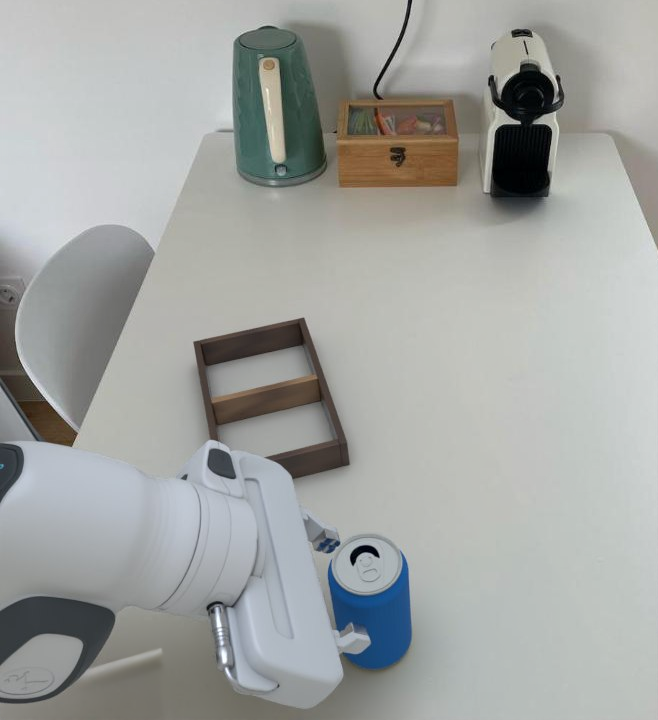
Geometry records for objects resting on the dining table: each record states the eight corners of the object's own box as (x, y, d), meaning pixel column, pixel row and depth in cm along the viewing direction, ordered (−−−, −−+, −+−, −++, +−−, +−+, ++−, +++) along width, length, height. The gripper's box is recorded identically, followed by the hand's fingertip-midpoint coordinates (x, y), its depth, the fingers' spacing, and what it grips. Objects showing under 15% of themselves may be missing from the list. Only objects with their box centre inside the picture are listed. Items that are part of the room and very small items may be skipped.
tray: (223, 497, 84) (216, 474, 82) (199, 363, 99) (193, 341, 97) (349, 464, 87) (347, 442, 84) (307, 339, 102) (304, 317, 100)
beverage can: (398, 597, 75) (393, 519, 67) (422, 659, 70) (419, 584, 62) (331, 618, 74) (317, 541, 65) (350, 683, 69) (337, 609, 61)
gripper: (251, 661, 48) (412, 686, 57) (208, 423, 63) (342, 471, 71) (192, 717, 51) (356, 733, 59) (164, 474, 65) (299, 515, 74)
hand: (348, 588), depth 65 cm, fingers open, 8 cm apart
